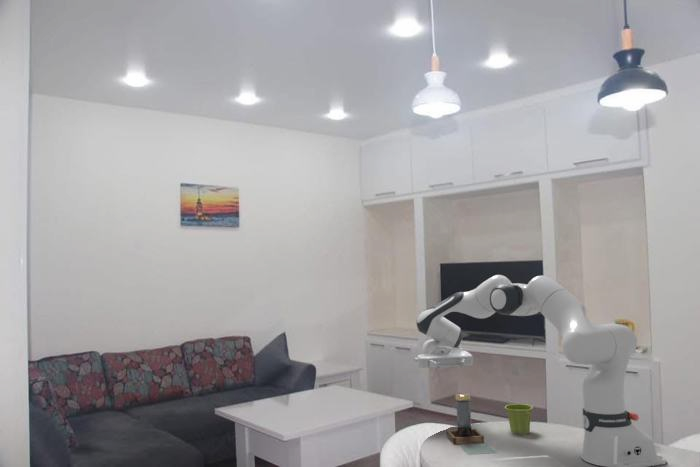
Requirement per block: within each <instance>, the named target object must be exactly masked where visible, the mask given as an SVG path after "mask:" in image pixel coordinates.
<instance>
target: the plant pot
mask: <svg viewBox="0 0 700 467" xmlns="http://www.w3.org/2000/svg"><path fill="white" fill-rule="evenodd" d="M504 409H505V411H506V413H507V417H508V421H509V422H508V423H509V427H510V428H509V429H510V432H512V433H515V434H522V435H528V434H530V432H531V431H530V430H531V418H532V417H531V416H532V413H533V412H532V411H533V405H530V404H524V403H513V404H512V403H511V404H507V405H505V406H504Z"/></svg>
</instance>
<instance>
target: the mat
mask: <svg viewBox="0 0 700 467" xmlns="http://www.w3.org/2000/svg"><path fill="white" fill-rule="evenodd" d="M460 448H461V449H462V451H464V452H465V453H466V455H468V456H469V455H470V456H471V455H484V454H485V455H486V454H497V452H496V450H495V449H493V448H492V447H491V446H490V445H489V444H488V443H482V444H481V443H480V444H469V445H466V444H464V445H460Z"/></svg>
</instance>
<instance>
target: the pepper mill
mask: <svg viewBox="0 0 700 467" xmlns="http://www.w3.org/2000/svg"><path fill="white" fill-rule="evenodd" d="M454 397H455V400H456V402H455V403H456V404H455V405H456V406H455V407H456V419H457V420H456V422H457V424H456V425H457V430H458V437H470V436H472V429H473V428H472V416H471V415H472V413H471V394H470V393H463V392H462V393H456V394H455V396H454Z"/></svg>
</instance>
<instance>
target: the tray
mask: <svg viewBox="0 0 700 467" xmlns="http://www.w3.org/2000/svg"><path fill="white" fill-rule="evenodd" d="M471 429H472V436H470V437H458V429H455V430H452V429H451V430H446V437H447V438H448V439H449V440H450V441H451V443H452V444H453V445H466V444H469V445H470V444H481V443H482V444H485V437H484V435H483V434H482V433H481V432H480V431H479V430H478V429H476V428H471Z"/></svg>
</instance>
